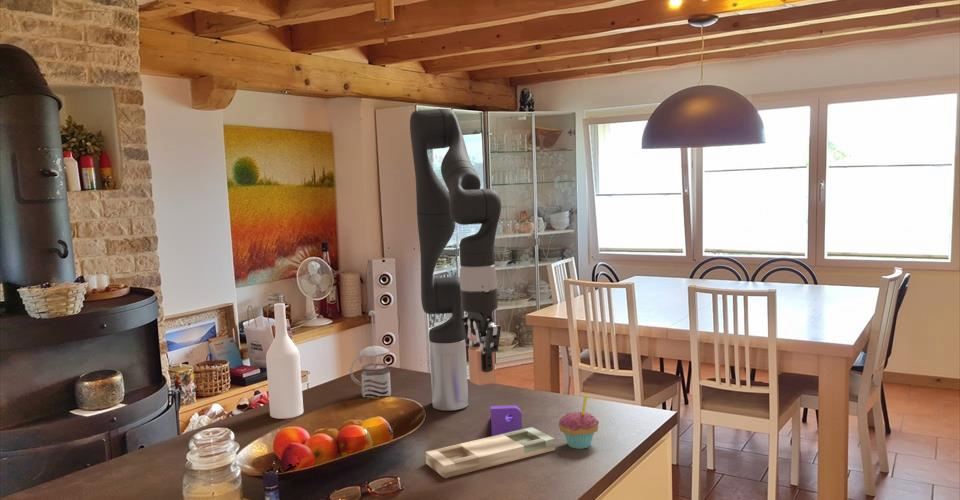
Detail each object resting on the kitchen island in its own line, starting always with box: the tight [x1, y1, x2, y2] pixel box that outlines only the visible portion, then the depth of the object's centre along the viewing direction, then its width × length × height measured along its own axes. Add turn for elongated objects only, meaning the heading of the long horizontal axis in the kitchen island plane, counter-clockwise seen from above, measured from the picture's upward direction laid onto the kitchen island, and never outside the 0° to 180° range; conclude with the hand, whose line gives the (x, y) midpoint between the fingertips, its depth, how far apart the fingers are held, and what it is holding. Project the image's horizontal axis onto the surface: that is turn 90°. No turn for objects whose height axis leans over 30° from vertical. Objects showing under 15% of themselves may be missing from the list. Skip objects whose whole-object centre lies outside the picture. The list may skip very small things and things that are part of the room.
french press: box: [349, 310, 392, 398], centre depth 188 cm, size 10×12×25 cm
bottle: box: [265, 302, 304, 420], centre depth 174 cm, size 8×8×30 cm
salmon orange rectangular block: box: [467, 346, 496, 386], centre depth 144 cm, size 4×4×7 cm
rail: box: [425, 426, 556, 479], centre depth 145 cm, size 9×26×2 cm, turn 118°
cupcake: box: [558, 391, 600, 450], centre depth 149 cm, size 9×8×12 cm
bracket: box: [490, 404, 523, 436], centre depth 163 cm, size 12×7×7 cm, turn 0°
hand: (482, 368), depth 144 cm, fingers closed on salmon orange rectangular block, 4 cm apart
